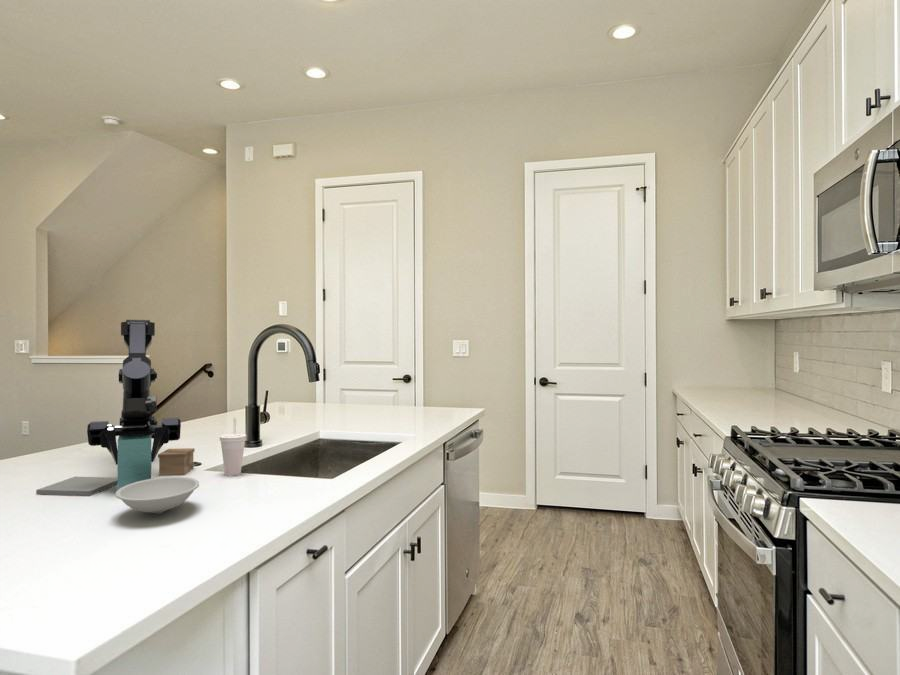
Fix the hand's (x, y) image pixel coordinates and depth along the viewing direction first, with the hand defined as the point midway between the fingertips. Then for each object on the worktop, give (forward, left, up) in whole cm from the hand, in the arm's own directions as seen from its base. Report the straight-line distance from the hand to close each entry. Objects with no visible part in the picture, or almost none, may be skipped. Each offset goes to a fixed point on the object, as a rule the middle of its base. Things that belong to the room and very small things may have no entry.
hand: (134, 462), depth 131 cm
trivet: (-2, -14, -7) cm, 15 cm away
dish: (+14, +13, -7) cm, 20 cm away
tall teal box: (-1, -1, -7) cm, 7 cm away
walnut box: (-19, -1, -7) cm, 20 cm away
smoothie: (-18, +14, -7) cm, 24 cm away
